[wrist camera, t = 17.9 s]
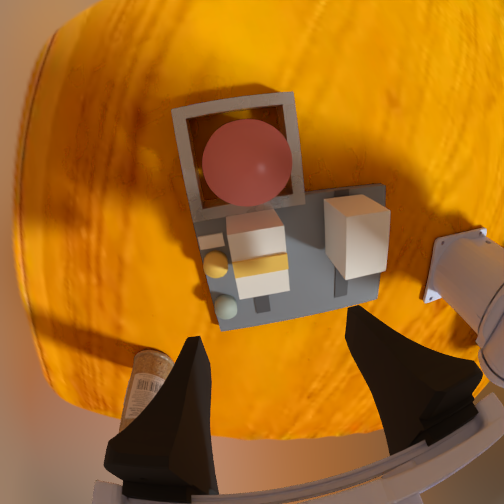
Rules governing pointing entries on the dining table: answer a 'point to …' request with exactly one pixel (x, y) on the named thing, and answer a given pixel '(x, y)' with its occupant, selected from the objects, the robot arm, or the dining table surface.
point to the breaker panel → (299, 262)
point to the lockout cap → (247, 162)
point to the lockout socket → (281, 100)
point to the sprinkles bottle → (144, 383)
